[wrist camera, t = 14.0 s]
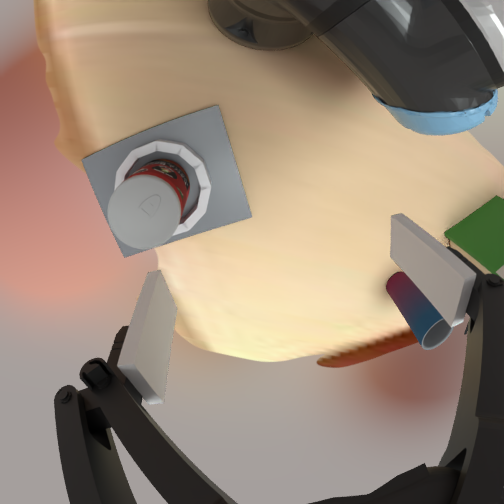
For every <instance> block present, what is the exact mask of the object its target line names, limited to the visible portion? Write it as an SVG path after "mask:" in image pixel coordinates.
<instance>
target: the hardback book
mask: <svg viewBox="0 0 504 504" xmlns="http://www.w3.org/2000/svg"><path fill="white" fill-rule="evenodd" d="M444 233H445V237H447V238H448V239H449V240H450V247H451V248H453V249H455V250H457V251H458V252H460V253H461V254H462V255H463V256H464V257H466V258H467V259H468V261H470V262H471V263H473V264H474V265H475V266H476V267H477V268H478V269H479V270H481V271H482V272H483V273H484V274H488V273H489V274H496V275H498V276H500V277H501V278H502V279H503V280H504V199H502V198H501V197H499V196H497V195H496V196H495V197H494V198H492V199H491V200H490V201H488V202H487V203H486V204H484V205H483V206H482V207H480V208H479V209H477V210H476V211H475V212H473V213H472V214H470V215H469V216H468V217H466V218H465V219H463V220H462V221H460V222H459V223H458V224H456V225H455V226H453V227H452V228H450V229H449V230H447V231H446V232H444Z"/></svg>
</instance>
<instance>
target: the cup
mask: <svg viewBox="0 0 504 504" xmlns="http://www.w3.org/2000/svg"><path fill="white" fill-rule="evenodd" d="M386 290H387V292H388V293H389V295H390V296H391V298H392V300H393V301H394V303H395V304H396V306H397V307H398V309H399V310H400V312H401V313H402V315H403V317H404V318H405V320H406V321H407V323H408V325H409V326H410V328H411V330H412V331H413V333H414V334H415V336H416V338H417V339H418V341H419V343H420V345H421V346H422V348H423V349H425V350H430V349H433V348H435V347H437V346H439V345H440V344H441V343H443V342H444V341H445V340H446V339H447V338H448V336H449V335H450V334H451V332H452V330H453V328H454V327H452V328H451V327H450V325H449V324H448V323H447V322H446V320H445V319H444V318H443V317H442V315H441V314H440V313H439V312H438V311H437V309H436V308H435V307H434V306H433V305H432V303H431V302H430V301H429V300H428V299H427V297H426V296H425V295H424V294H423V293H422V292H421V290H420V289H419V288H418V287H417V286H416V285H415V284H414V282H413V281H412V280H411V279H410V278H409V277H408V276H407V275H406V274H405V273H404V272H398V273H396V274H394V275H393V276H392V277H391V278H390V279H389V280H388V282H387V285H386Z"/></svg>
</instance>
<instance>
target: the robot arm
mask: <svg viewBox="0 0 504 504" xmlns="http://www.w3.org/2000/svg"><path fill="white" fill-rule="evenodd" d="M208 8H209V13H210V16H211V18H212V20H213V22H214V24H215V25H216V27H217V28H218V29H219V30H220V31H221V32H222V33H223V34H224V35H225V36H226V37H228V38H229V39H231V40H232V41H234V42H236V43H238V44H240V45H243V46H245V47H249V48H252V49H257V50H265V51H275V50H283V49H287V48H291V47H294V46H296V45H298V44H300V43H302V42H304V41H305V40H306V39H308V38H309V37H311V36H312V35H313V34H315V35H316V36H317V37H318V38H319V39H320V40H321V41H322V42H323V43H324V44H325V45H327V46H328V47H329V48H330V49H331V50H332V51H333V52H334V53H335V54H336V55H337V56H338V57H339V58H340V59H341V60H342V61H343V62H344V63H345V64H346V65H347V66H348V67H349V68H350V69H351V70H352V71H353V72H354V73H355V75H356V76H357V77H358V78H359V79H360V80H361V81H362V82H363V83H364V84H365V86H366V87H367V88H368V89H369V90H370V91H371V92H372V95H373V97H374V98H375V99H376V100H377V101H378V102H379V103H380V104H381V105H383V106H385V107H386V109H387V110H388V111H389V112H390V113H391V114H392V115H393V116H394V118H395V119H396V120H397V121H398V122H399V123H400V124H401V125H403V126H404V127H406V128H408V129H411V130H413V131H415V132H417V133H420V134H425V135H450V134H456V133H460V132H464V131H466V130H469V129H472V128H474V127H476V126H477V125H479V124H481V123H482V122H484V120H485V117H484V116H490V115H491V114H492V113H493V112H494V110H495V108H496V106H497V102H498V97H497V94H498V91H497V88H500V87H502V86H504V0H208ZM390 257H391V258H392V259H393V260H394V262H395V263H396V264H397V265H398V266H399V267H400V268H401V269H402V270H403V271H404V272H405V274H406V275H407V276H408V277H409V278H410V279H411V280H412V281H413V282H414V284H415V285H416V286H417V287H418V288H419V289H420V290H421V292H422V293H423V294H424V295H425V296H426V297H427V299H428V300H429V301H430V302H431V303H432V305H433V306H434V307H435V308H436V309H437V311H438V312H439V313H440V314H441V315H442V317H443V318H444V319H445V320H446V322H447V323H448V324H449V325H450V327H451V328H452V327H454V326H456V325H458V324H460V323H462V322H463V320H464V317H465V313H467V314H468V315H469V316H470V319H469V322H468V325H467V327H466V330H465V333H464V334H467V331H468V335H467V347H466V357H465V365H464V373H463V380H462V385H461V391H460V397H459V402H458V407H457V411H456V416H455V420H454V424H453V429H452V433H451V436H450V440H449V444H448V447H447V449H446V451H445V453H444V455H443V457H442V459H441V461H440V463H439V465H438V466H434V467H426V465H425V463H424V464H422V465H420V466H418V467H416V468H414V469H411V470H409V471H407V472H405V473H402V474H400V475H398V476H396V477H395V478H393V479H392V480H390V481H389V482H387V483H386V484H384V485H383V486H381V487H380V488H378V489H377V490H375V491H373V492H372V493H370V494H367V495H359V496H349V497H335V498H330V499H326V500H322V501H318V502H313V503H309V504H504V280H503V279H502V278H501V277H500V276H498V275H496V274H489V273H488V274H484V273H483V272H482V271H481V270H479V269H478V268H477V267H476V266H475V265H474V264H473V263H471V262H470V261H468V259H467V258H466V257H464V256H463V255H462V254H461V253H460V252H458V251H457V250H455V249H453V248H451V247H445V246H444V245H442V244H441V243H440V242H439V241H437V240H436V239H435V238H434V237H432V236H431V235H430V234H429V233H427V232H426V231H425V230H424V229H422V228H421V227H420V226H418V225H417V224H416V223H414V222H413V221H412V220H410V219H409V218H408V217H406V216H405V215H404V214H402V213H400V214H396V215H391V249H390ZM176 314H177V306H176V304H175V302H174V300H173V297H172V295H171V293H170V291H169V288H168V286H167V284H166V282H165V279H164V277H163V275H162V272H161V270H157V271H153V272H148V274H147V276H146V279H145V282H144V284H143V287H142V290H141V293H140V296H139V298H138V301H137V304H136V307H135V310H134V313H133V316H132V319H131V322H130V325H129V326H123V327H122V328H121V329H120V330H119V332H118V333H117V334H116V337H115V340H114V344H113V346H112V350H111V352H110V355H109V358H108V361H107V363H106V362H105V361H104V360H103V359H102V358H94V359H91V360H89V361H88V362H87V363H85V364H84V366H83V367H82V368H81V371H80V379H81V380H82V381H83V382H84V383H85V384H86V386H88V388H86V389H83V390H80V391H78V390H76V388H75V387H73V386H71V385H67V386H64V387H62V388H61V389H60V390H59V391H58V392H57V393H56V395H55V399H54V407H55V419H56V429H57V438H58V446H59V452H60V459H61V464H62V470H63V474H64V480H65V484H66V489H67V493H68V497H69V501H70V504H137V503H136V501H135V498H134V496H133V494H132V491H131V489H130V486H129V483H128V481H127V478H126V476H125V473H124V470H123V467H122V465H121V462H120V459H119V456H118V453H117V449H116V446H115V443H114V440H113V436H112V433H111V429H110V428H111V427H112V428H113V430H114V431H115V433H116V434H117V436H118V438H119V439H120V441H121V442H122V444H123V445H124V447H125V448H126V450H127V451H128V453H129V454H130V455H131V457H132V458H133V460H134V461H135V462H136V464H137V465H138V467H139V468H140V469H141V471H143V473H144V474H145V476H146V477H147V478H148V480H149V481H150V482H151V484H152V485H153V486H154V487H155V488H156V490H157V491H158V492H159V493H160V494H161V496H162V497H163V498H164V499H165V500H166V502H167V503H168V504H237V503H236V502H235V501H234V500H233V499H232V498H230V497H229V496H228V495H227V494H226V493H225V492H223V491H222V490H221V489H220V488H219V487H218V486H216V484H214V483H213V482H212V481H211V480H210V479H209V478H208V477H207V476H206V475H205V474H204V473H202V471H201V470H199V469H198V467H196V466H195V465H194V464H193V462H192V461H190V460H189V459H188V457H186V455H185V454H184V453H183V452H182V451H181V450H180V449H179V448H178V447H177V446H176V445H175V444H174V443H173V441H172V440H171V439H170V438H169V437H168V436H167V435H166V434H165V433H164V431H163V430H162V429H161V428H160V427H159V426H158V424H157V423H156V422H155V421H154V420H153V418H152V417H151V416H150V415H149V414H148V412H147V411H146V410H145V409H144V407H143V406H142V405H141V403H142V397H143V399H144V400H145V401H146V402H147V403H148V404H160V403H164V398H165V391H166V383H167V375H168V367H169V359H170V352H171V345H172V339H173V333H174V326H175V320H176Z"/></svg>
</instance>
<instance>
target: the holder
mask: <svg viewBox="0 0 504 504" xmlns="http://www.w3.org/2000/svg"><path fill="white" fill-rule="evenodd" d="M157 159H167V160H171V161H174V162H176V163H177V164H179V165H180V166H181V167H182V168H183V169H184V170H185V172H186V174H187V175H188V178H189V183H190V190H189V195H188V198H187V201H186V204H185V207H184V211H183V214H182V217H181V220H180V223H179V225H178V227H177V229H176V231H175V232H174V234H173V235H172V236H171V238H170V239H169V240H167V241H166V242H165V243H163V244H162V245H164V244H167V243H171V242H174V241H177V240H180V239H183V238H186V237H189V236H192V235H196V234H199V233H202V232H205V231H208V230H212V229H215V228H218V227H221V226H225V225H228V224H231V223H235V222H238V221H241V220H245V219H248V218H251V217H252V215H251V211H250V208H249V204H248V201H247V198H246V194H245V191H244V188H243V184H242V181H241V178H240V174H239V171H238V168H237V164H236V161H235V158H234V155H233V151H232V148H231V145H230V141H229V138H228V135H227V132H226V128H225V125H224V122H223V119H222V115H221V112H220V109H219V106H218V105H216V106H213V107H210V108H206V109H203V110H200V111H197V112H194V113H191V114H188V115H185V116H182V117H180V118H177V119H174V120H171V121H169V122H166V123H163V124H161V125H158V126H155V127H153V128H150V129H148V130H145V131H143V132H141V133H138V134H136V135H133V136H131V137H129V138H126V139H124V140H122V141H120V142H118V143H115V144H113V145H111V146H109V147H107V148H105V149H103V150H100V151H98V152H96V153H94V154H92V155H90V156H88V157H86V158H84V159H82V163H83V165H84V168H85V170H86V173H87V176H88V178H89V181H90V183H91V186H92V188H93V190H94V193H95V195H96V197H97V200H98V202H99V205H100V207H101V209H102V211H103V214H104V216H105V218H106V220H107V222H108V224H109V221H108V212H107V210H108V203H109V201H110V198H111V196H112V194H113V192H114V191H115V189H116V188H117V187H118V186H119V185H120V184H121V183H122V182H123V181H124V180H125V179H127V178H128V177H129V176H130V175H132V174H133V173H134V172H136V171H137V170H138V169H140V168H141V167H142V166H144V165H145V164H147V163H148V162H151V161H153V160H157ZM109 227H110V224H109ZM110 229H111V227H110ZM111 231H112V229H111ZM112 233H113V235H114V237H115V240H116V242H117V244H118V246H119V248H120V250H121V252H122V254H123V256H124V257H128V256H131V255H134V254H137V253H140V252H143V251H146V250H149V249H137V248H133V247H131V246H128V245H126V244H125V243H123V242H122V241H120V240H119V239H118V238H117V237H116V235H115V234H114V232H113V231H112ZM160 246H161V245H160ZM151 249H152V248H151Z"/></svg>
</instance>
